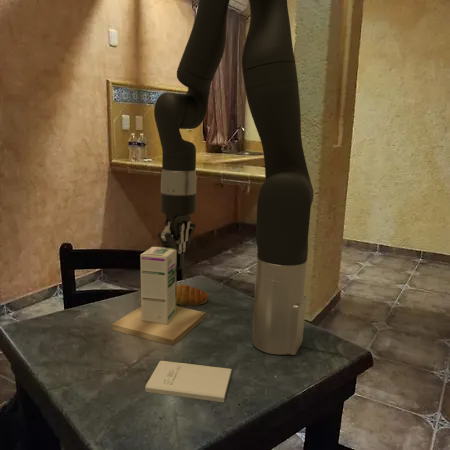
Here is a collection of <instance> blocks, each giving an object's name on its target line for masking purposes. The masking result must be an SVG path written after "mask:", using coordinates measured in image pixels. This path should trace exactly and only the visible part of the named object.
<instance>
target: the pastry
mask: <svg viewBox="0 0 450 450" xmlns="http://www.w3.org/2000/svg"><path fill="white" fill-rule="evenodd" d="M176 287H177V288H176V305H180V306H200V305H203V304H205V303H207V301H208V298H209V295H208V293H207V292H206V291H204V290H201V289H199V288H196V286H195V287H194V286H190V285H188V284H185V285H183V284H177V285H176Z"/></svg>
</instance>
